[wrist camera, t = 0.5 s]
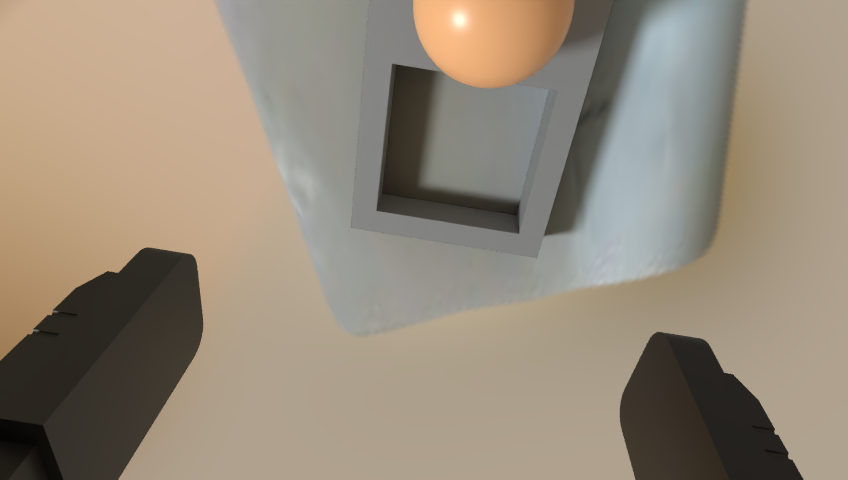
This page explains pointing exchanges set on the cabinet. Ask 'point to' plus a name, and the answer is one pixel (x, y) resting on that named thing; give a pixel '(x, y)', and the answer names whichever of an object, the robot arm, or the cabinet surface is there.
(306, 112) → the cabinet surface
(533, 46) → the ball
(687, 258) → the cabinet surface
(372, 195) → the board
